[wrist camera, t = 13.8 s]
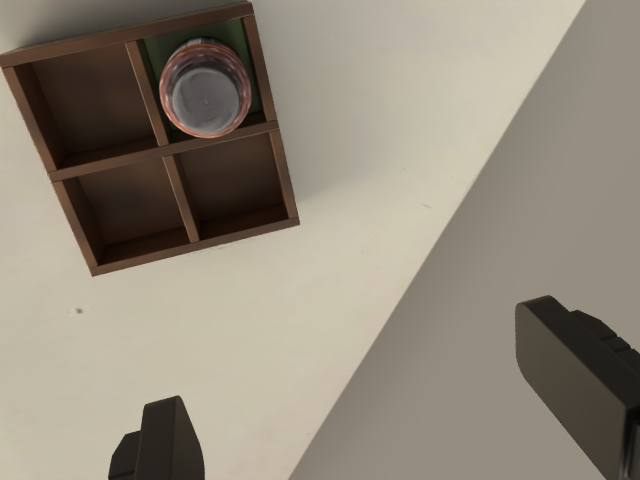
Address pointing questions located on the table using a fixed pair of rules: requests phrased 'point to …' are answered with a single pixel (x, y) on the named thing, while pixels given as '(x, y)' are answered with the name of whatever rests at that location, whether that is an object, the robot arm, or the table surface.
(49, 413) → the table surface
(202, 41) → the supplement bottle
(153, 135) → the box
